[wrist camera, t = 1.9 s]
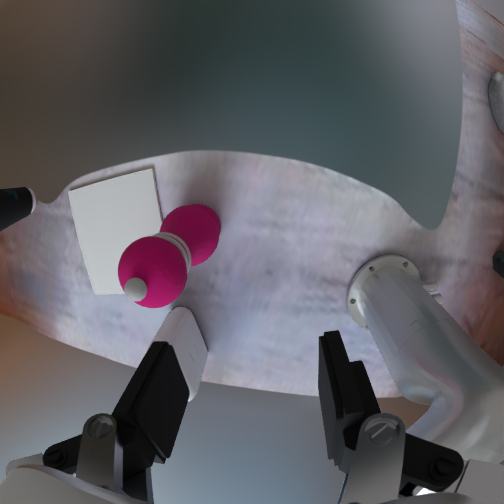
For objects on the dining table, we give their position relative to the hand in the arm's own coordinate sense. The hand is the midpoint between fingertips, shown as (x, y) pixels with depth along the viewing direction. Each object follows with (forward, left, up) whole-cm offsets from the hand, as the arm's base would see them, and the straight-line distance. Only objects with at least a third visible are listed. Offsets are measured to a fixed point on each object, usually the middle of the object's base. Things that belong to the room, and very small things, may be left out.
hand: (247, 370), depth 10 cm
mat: (+22, 0, -28) cm, 35 cm away
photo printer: (+14, +17, -28) cm, 35 cm away
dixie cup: (+42, -10, -28) cm, 51 cm away
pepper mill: (+9, 0, -28) cm, 29 cm away
